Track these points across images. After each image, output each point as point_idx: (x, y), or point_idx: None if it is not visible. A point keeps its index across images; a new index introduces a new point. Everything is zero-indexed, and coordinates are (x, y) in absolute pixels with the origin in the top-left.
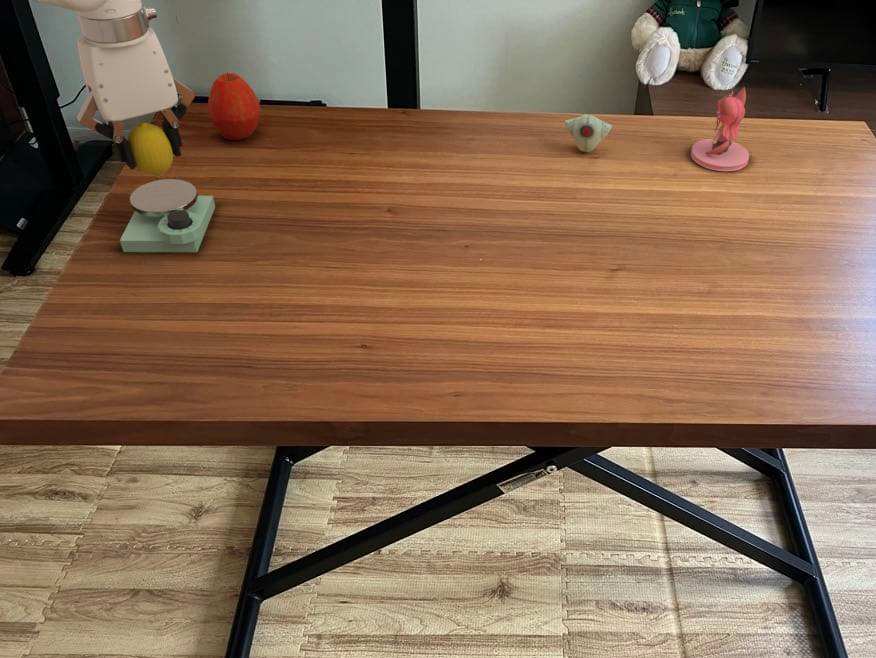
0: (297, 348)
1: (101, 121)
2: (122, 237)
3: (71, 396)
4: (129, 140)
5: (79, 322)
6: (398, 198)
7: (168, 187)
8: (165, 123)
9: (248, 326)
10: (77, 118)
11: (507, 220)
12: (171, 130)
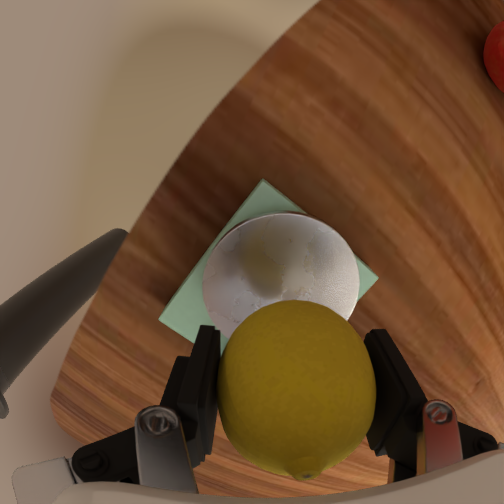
0: (263, 489)
1: (110, 478)
2: (165, 314)
3: (93, 442)
4: (225, 427)
5: (95, 391)
6: (498, 366)
7: (310, 267)
8: (397, 435)
9: (244, 469)
10: (16, 480)
11: (492, 420)
12: (377, 455)
